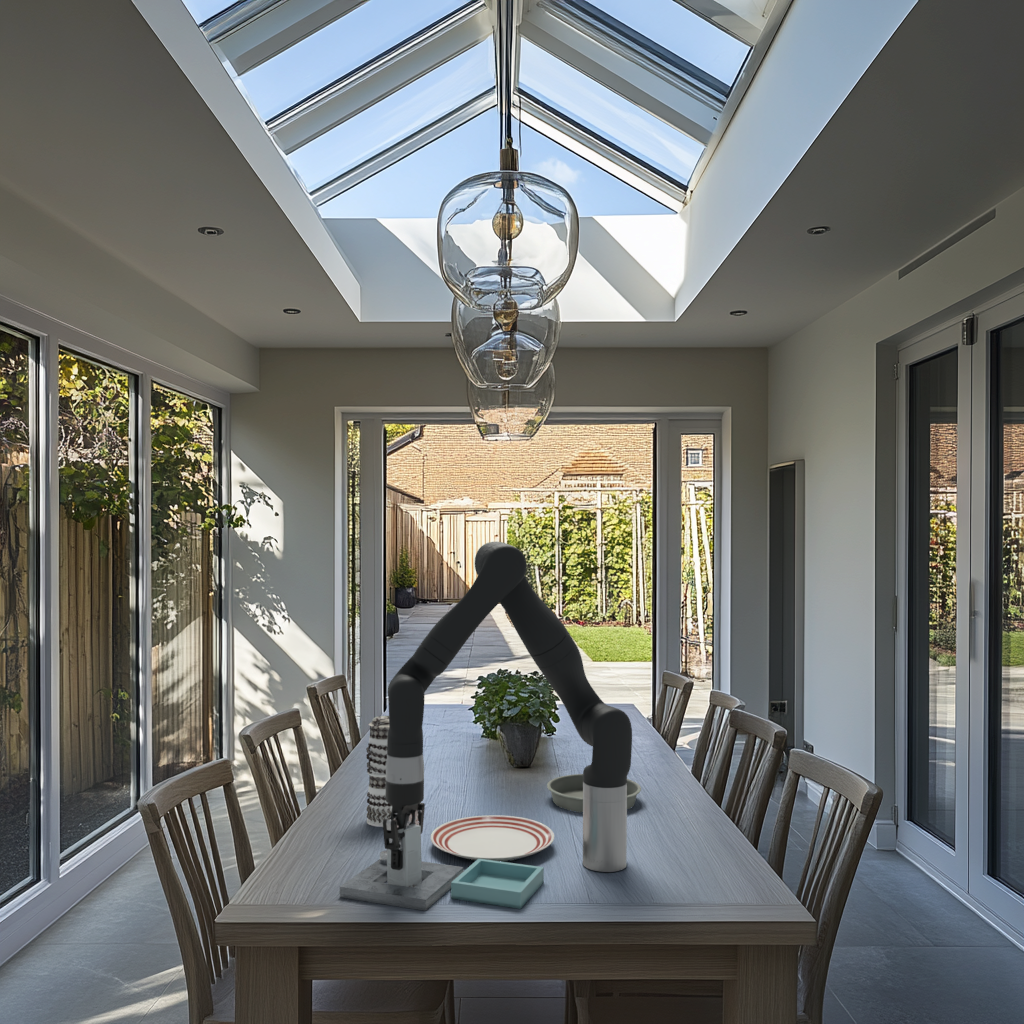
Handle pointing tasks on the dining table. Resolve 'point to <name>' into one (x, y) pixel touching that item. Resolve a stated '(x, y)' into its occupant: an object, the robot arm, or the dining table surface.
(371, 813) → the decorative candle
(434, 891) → the socket block
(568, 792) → the cake pan
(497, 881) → the tray
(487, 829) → the dinner plate
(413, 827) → the skincare box
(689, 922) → the dining table surface
